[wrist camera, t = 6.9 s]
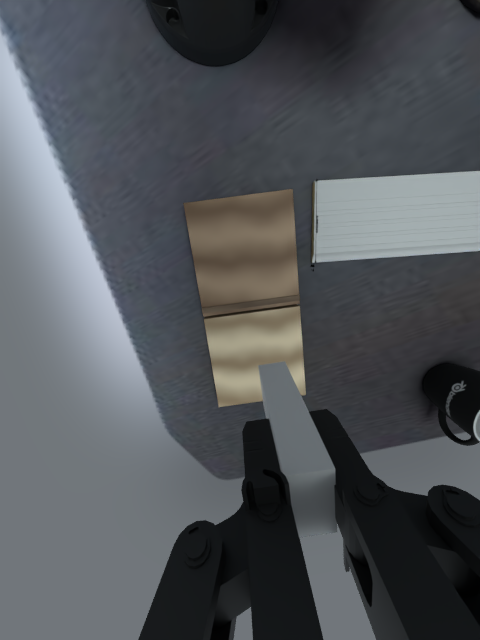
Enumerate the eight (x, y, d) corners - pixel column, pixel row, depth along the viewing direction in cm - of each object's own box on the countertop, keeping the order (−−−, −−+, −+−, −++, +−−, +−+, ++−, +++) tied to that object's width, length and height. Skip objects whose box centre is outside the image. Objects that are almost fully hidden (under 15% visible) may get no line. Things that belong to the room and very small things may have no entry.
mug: (426, 353, 39) (491, 385, 30) (474, 360, 40) (553, 393, 30) (402, 414, 42) (454, 461, 33) (447, 419, 43) (511, 467, 34)
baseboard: (506, 258, 36) (525, 171, 33) (529, 258, 34) (553, 163, 30) (309, 272, 35) (310, 184, 32) (316, 274, 33) (318, 177, 30)
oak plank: (205, 316, 36) (203, 319, 34) (295, 303, 36) (299, 306, 34) (219, 399, 39) (218, 407, 37) (302, 388, 40) (305, 394, 38)
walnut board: (186, 206, 32) (182, 202, 29) (288, 192, 32) (293, 188, 30) (204, 313, 36) (203, 317, 34) (295, 301, 36) (300, 303, 34)
